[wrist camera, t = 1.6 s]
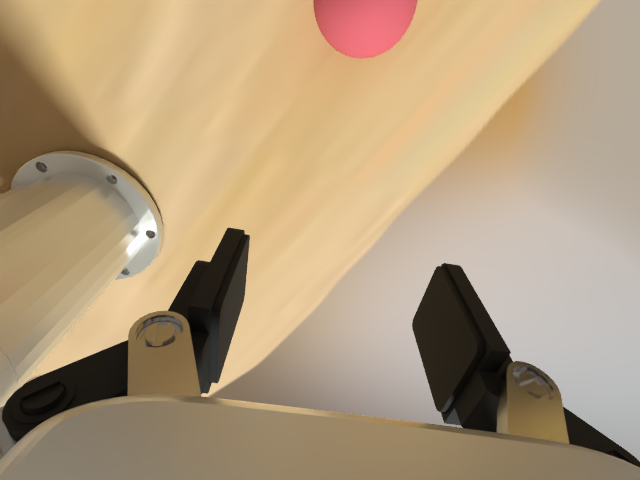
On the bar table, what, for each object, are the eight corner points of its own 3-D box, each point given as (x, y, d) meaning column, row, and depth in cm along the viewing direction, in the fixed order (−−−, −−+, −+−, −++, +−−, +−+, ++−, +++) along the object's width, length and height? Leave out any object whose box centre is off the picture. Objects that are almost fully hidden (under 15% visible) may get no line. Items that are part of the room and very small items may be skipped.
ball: (308, 46, 24) (303, 49, 19) (324, -66, 21) (323, -99, 16) (391, 63, 24) (408, 71, 19) (418, -43, 21) (448, -68, 16)
